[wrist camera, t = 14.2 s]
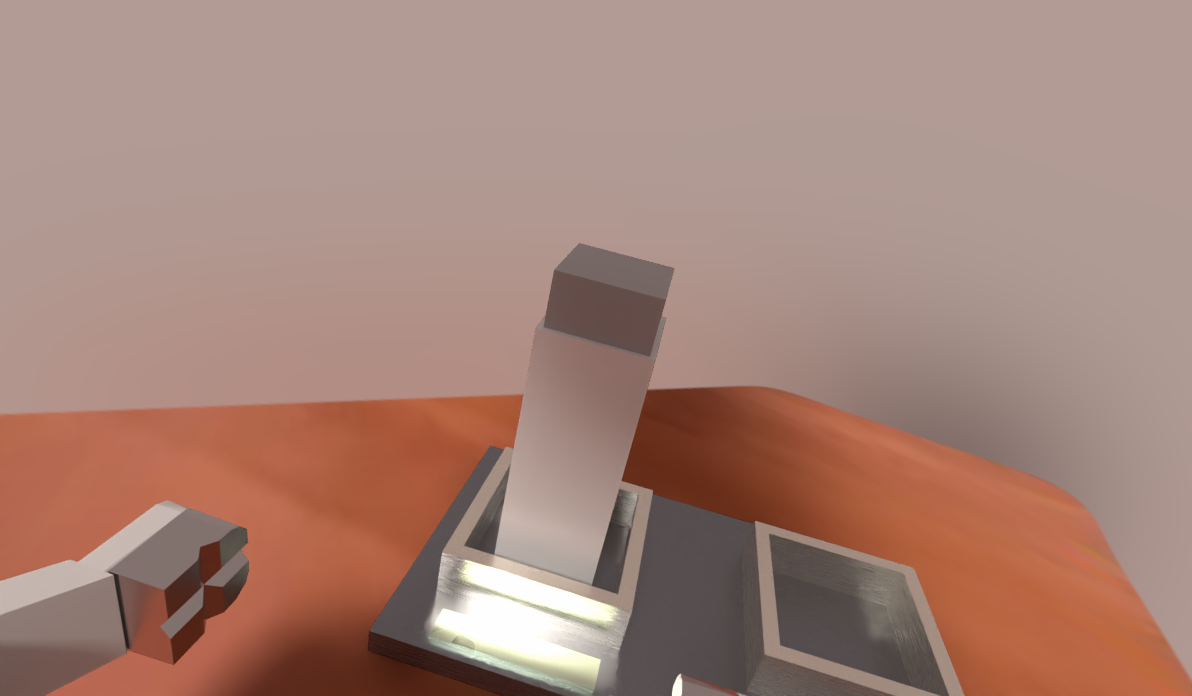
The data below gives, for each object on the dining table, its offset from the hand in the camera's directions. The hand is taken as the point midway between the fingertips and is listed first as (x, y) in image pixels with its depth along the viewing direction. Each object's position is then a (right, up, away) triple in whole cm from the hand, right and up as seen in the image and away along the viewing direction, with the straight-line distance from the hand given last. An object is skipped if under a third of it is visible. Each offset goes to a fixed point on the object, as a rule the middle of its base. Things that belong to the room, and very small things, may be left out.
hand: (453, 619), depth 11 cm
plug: (+1, -4, +15) cm, 16 cm away
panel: (+6, -6, +15) cm, 17 cm away
